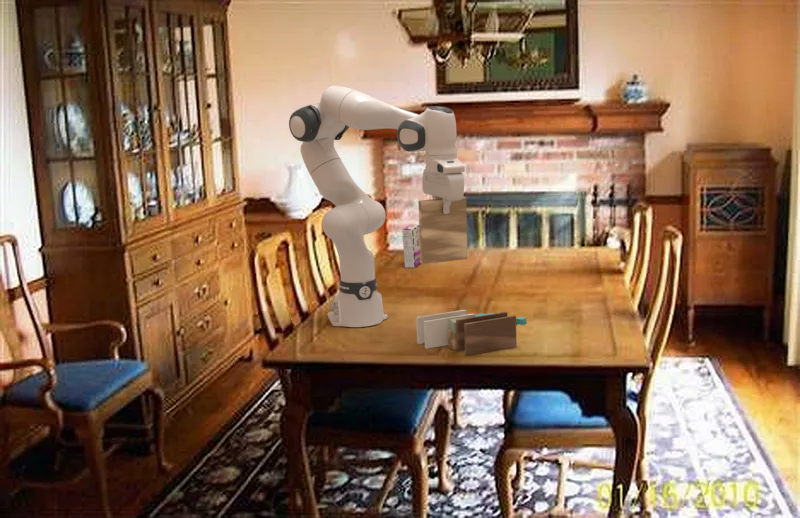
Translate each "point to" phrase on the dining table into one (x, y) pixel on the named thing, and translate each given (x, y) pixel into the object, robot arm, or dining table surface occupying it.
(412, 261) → the candy bar box
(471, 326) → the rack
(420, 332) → the holder
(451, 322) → the offcut
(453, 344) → the offcut
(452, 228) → the sheet
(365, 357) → the dining table surface
